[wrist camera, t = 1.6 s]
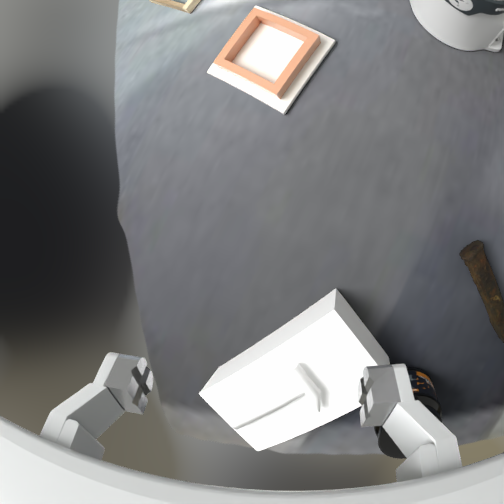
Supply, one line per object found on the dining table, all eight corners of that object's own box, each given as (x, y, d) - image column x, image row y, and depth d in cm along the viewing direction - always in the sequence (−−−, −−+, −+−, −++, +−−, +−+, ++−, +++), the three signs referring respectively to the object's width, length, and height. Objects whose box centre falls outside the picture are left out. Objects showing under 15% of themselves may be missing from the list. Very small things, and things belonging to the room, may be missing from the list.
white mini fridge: (388, 355, 44) (395, 396, 34) (269, 420, 53) (253, 460, 42) (336, 287, 44) (333, 316, 34) (219, 366, 53) (192, 401, 43)
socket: (257, 8, 38) (251, -2, 35) (335, 43, 37) (334, 32, 33) (209, 74, 43) (199, 67, 40) (284, 114, 41) (279, 109, 38)
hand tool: (454, 251, 38) (465, 258, 34) (475, 237, 37) (487, 242, 33) (490, 347, 39) (499, 360, 34) (508, 334, 37) (519, 347, 33)
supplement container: (439, 395, 42) (454, 441, 31) (386, 421, 46) (390, 469, 35) (419, 353, 42) (434, 397, 31) (362, 383, 46) (362, 431, 35)
